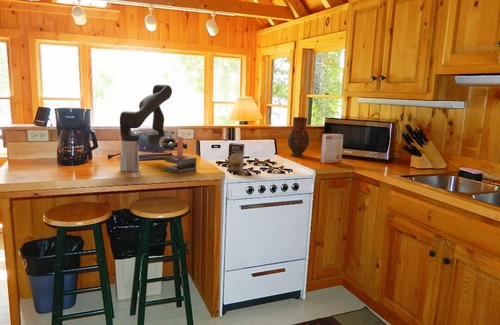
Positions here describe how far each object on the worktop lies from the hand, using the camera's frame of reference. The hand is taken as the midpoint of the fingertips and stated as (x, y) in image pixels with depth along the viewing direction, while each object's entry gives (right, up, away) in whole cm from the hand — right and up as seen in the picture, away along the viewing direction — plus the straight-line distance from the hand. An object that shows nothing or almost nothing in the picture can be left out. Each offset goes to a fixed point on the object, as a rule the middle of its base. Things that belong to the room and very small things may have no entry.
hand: (179, 147), depth 216 cm
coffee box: (+31, -14, +13) cm, 37 cm away
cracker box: (+99, -9, +55) cm, 113 cm away
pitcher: (+77, -3, +79) cm, 110 cm away
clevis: (-1, -14, +2) cm, 14 cm away
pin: (-1, -14, +3) cm, 14 cm away
